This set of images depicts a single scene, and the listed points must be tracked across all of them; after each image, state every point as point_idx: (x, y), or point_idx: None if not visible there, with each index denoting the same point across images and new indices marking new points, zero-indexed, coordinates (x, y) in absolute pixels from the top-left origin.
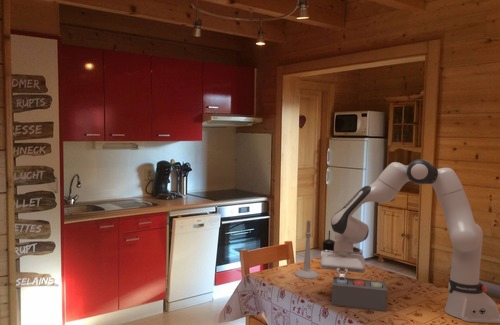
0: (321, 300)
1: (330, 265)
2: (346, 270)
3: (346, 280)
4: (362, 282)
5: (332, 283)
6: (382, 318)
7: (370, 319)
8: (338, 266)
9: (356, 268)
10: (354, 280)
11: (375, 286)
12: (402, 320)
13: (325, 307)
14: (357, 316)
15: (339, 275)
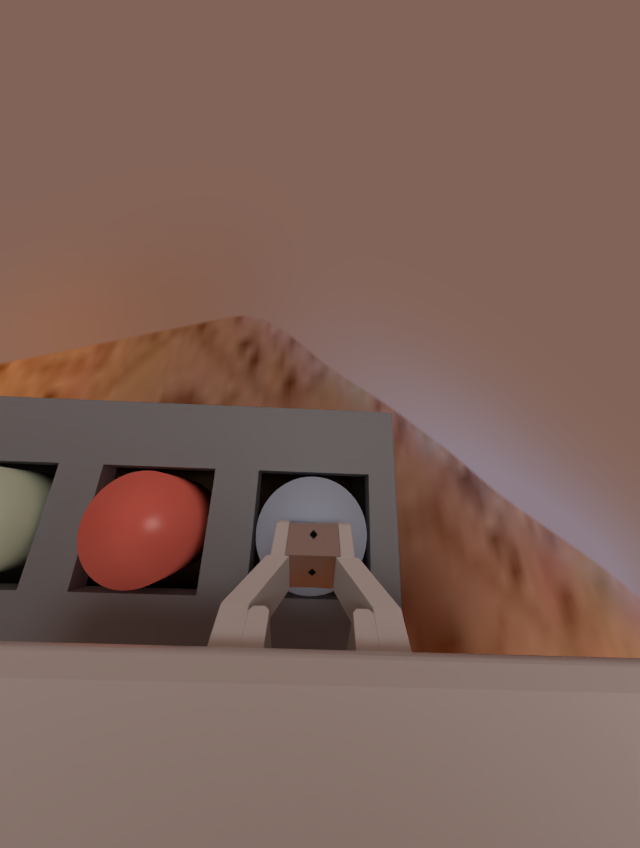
0: (419, 502)
1: (553, 667)
2: (242, 612)
3: (265, 526)
4: (106, 508)
5: (392, 446)
6: (134, 354)
7: (192, 333)
8: (389, 657)
9: (27, 643)
10: (178, 555)
11: (7, 468)
12: (47, 354)
13: (387, 410)
14: (243, 348)
15: (343, 536)
